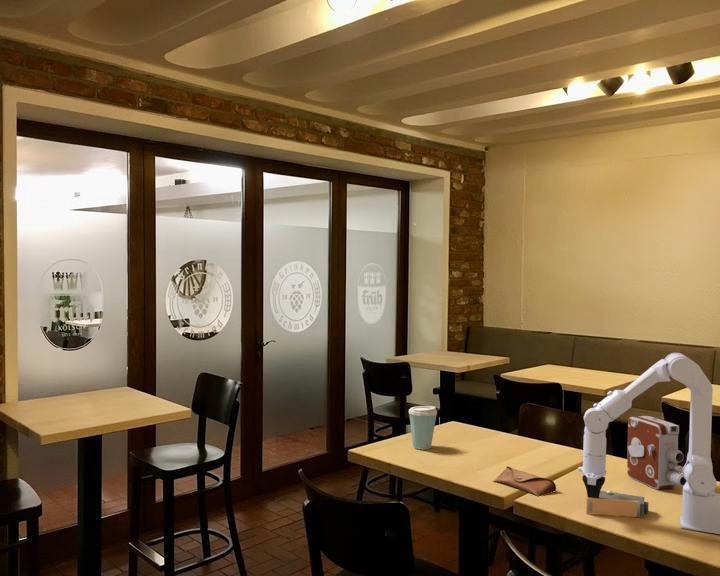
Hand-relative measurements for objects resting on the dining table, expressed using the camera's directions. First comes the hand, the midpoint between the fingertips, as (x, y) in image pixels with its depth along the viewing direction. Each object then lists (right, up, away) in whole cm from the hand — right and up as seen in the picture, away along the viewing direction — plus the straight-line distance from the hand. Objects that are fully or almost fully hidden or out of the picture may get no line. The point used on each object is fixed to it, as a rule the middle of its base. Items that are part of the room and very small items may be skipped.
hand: (592, 503), depth 167 cm
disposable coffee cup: (-40, -1, +62) cm, 74 cm away
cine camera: (+28, -3, +23) cm, 36 cm away
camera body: (+8, -2, +2) cm, 9 cm away
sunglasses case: (-13, -3, +21) cm, 25 cm away
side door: (+5, -2, -2) cm, 5 cm away
